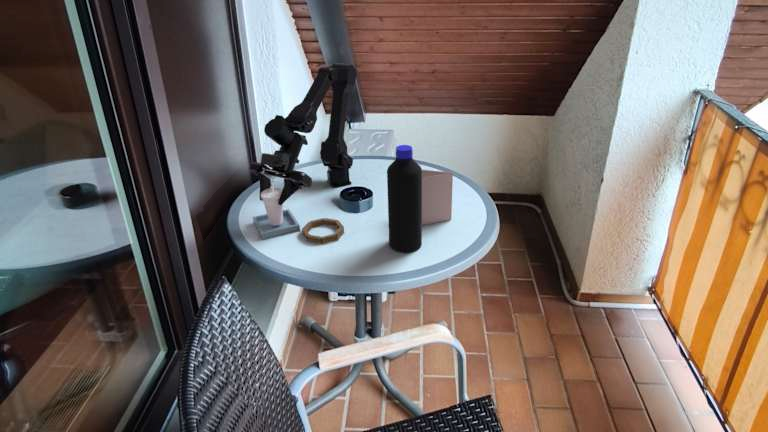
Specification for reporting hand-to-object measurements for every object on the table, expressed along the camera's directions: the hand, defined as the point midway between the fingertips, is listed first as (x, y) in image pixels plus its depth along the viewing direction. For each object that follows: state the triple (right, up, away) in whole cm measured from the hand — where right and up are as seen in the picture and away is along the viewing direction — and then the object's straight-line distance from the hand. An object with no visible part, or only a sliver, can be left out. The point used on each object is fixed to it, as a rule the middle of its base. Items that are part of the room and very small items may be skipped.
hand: (270, 202), depth 153 cm
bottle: (+38, -12, -6) cm, 40 cm away
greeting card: (+46, -6, +5) cm, 46 cm away
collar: (+15, -9, +1) cm, 17 cm away
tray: (+1, -7, +5) cm, 9 cm away
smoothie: (+1, -6, +5) cm, 7 cm away
